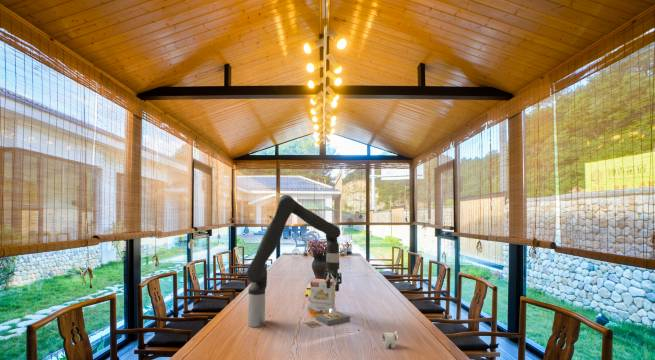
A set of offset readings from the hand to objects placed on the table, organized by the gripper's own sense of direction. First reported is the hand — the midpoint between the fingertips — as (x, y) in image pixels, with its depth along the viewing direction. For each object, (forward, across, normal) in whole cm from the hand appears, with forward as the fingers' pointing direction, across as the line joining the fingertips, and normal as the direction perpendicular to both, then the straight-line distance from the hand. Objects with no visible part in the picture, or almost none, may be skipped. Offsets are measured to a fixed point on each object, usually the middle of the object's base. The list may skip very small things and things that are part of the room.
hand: (332, 289), depth 211 cm
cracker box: (+19, -17, +4) cm, 25 cm away
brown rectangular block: (+18, 0, -13) cm, 23 cm away
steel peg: (+18, 0, 0) cm, 18 cm away
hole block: (+18, 0, 0) cm, 18 cm away
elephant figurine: (+18, +43, +3) cm, 47 cm away
